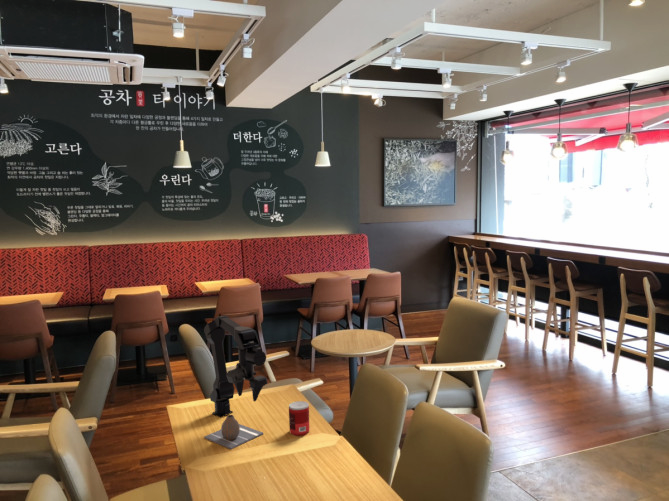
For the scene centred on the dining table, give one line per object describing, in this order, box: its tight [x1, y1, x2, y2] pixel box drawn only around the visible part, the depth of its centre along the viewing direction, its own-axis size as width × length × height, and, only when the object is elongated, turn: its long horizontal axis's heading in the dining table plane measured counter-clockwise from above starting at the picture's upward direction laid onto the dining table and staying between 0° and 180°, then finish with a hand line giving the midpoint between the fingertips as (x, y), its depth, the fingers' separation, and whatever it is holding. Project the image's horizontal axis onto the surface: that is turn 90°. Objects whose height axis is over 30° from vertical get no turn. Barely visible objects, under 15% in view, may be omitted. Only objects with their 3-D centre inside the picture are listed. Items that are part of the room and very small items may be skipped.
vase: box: [220, 414, 240, 440], centre depth 200 cm, size 7×7×9 cm
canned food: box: [288, 400, 310, 437], centre depth 206 cm, size 8×8×11 cm
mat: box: [203, 423, 264, 450], centre depth 204 cm, size 16×16×1 cm
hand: (247, 398), depth 210 cm, fingers open, 9 cm apart
